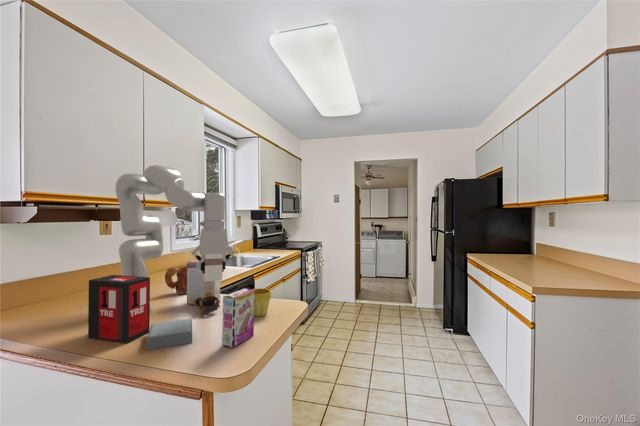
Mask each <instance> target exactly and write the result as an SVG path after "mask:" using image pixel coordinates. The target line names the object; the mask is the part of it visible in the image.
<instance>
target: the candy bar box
mask: <svg viewBox="0 0 640 426" xmlns="http://www.w3.org/2000/svg"><path fill="white" fill-rule="evenodd" d="M254 295H255V290H252V289H250V288H242V289H240V290H236V291H234V292H231V293H227V294H226V295H223V300H222V301H223V303H222V305H223V306H222V338H221V341H222V342H221V345H222V347H225V348H230V349H234V348H236V347H238V346H239V345H240V344H242V343H244V342H245V341H247V340H249V339H250V338H251V337H253V336H254V332H255V331H254V328H255V327H254V325H255V316H254Z"/></svg>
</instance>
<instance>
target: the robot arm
mask: <svg viewBox="0 0 640 426" xmlns="http://www.w3.org/2000/svg"><path fill="white" fill-rule="evenodd" d="M184 188H185V181H184V180H183V178H182V174H181V173H180V171H179V170H178V169H176V168H174V167H170V166H169V167H168V166H162V165H157V164H155V165H154V164H153V165H150V166H148V167H147V168H145V169H144V171H143V174H140V173H125V174H122V175H120V176H119V177H118V178H117V180H116V182H115V194H116V198H117V200H118V204H119V212H120V213H119V214H120V225H121V231H122V234H123V235H124V236H127V237H142V236H144V238H135V239H133V238H132V239H128V240H126V241H123V242H122V243H121V244H120V245H119V248H118V255H119V259H120V266H121V267H120V269H121V275H123V276H137V277H149V276H148V274H149V273H148V272H149V271H148V268H147V265H146V264H145V263H144V261H146V260H151V259H157V258H159V257H161V255H162V254H163V252H164V238H163V228H162V222H161V220H160V218H159V217H158V216H156V215H154V214H145V213H144V204H143V202H142V201H141V199H140V198H139V196H137V194H139V195H153V196H156V195H157V196H158V195H160V194H163V193H164V195H165V197H166V200H167V202H168V203H169V204H171V205H172V206H173V207H175V208H177V209H179V210H181V211H183V212H203V221H200V222H199V226H202V228H201V230H200V235H199V244H198V246H197V247H196V248H194V249H193V250H192V251H191V255H192V256H193V257H194V258H195V260H199V261H200V262H201V271H202V272H203V273H205V262H204V260H205V254H219V253H223V265H222V273H224V270H226V262H227V261H228V259H230V258H231V256H233V255H234V254H235V250H234V248H232V247H231V246H230V245H229V236H228V229H227V228H226V227H225V220H226V218H225V216H226V196H225V194H224V193H221V192H200V191H193V190H186V189H184ZM228 251H229V252H228ZM197 252H198V253H199V254H200V255H199V254H198V253H197ZM151 310H152V306H151V305H150V311H151Z"/></svg>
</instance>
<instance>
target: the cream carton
mask: <svg viewBox="0 0 640 426" xmlns="http://www.w3.org/2000/svg"><path fill="white" fill-rule="evenodd" d="M204 262H205V273H204V280H205V281H218V280H220V281H222V280H223V272H222V265H223V253H219V254H205V260H204Z"/></svg>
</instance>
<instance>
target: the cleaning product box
mask: <svg viewBox="0 0 640 426" xmlns="http://www.w3.org/2000/svg"><path fill="white" fill-rule="evenodd" d="M150 293H151V277H149V276H148V277H137V276H123V275H122V274H121V275H120V274H110V275H106V276H102V277H96V278H93V279H88V304H87V305H88V309H87V310H88V312H87V313H88V315H87V316H88V317H87V318H88V319H87V320H88V321H87V323H88V324H87V327H88V329H87V338H88V339H90V340H98V341H105V342H114V343H121V344H130V343H132V342H133V341H136V340H137V339H140V338H141V337H143V336H146V335H149V332H150V318H151V317H150V314H151V313H150V312H151V310H150V306H151V303H150V300H151V296H150V295H151V294H150Z"/></svg>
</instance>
